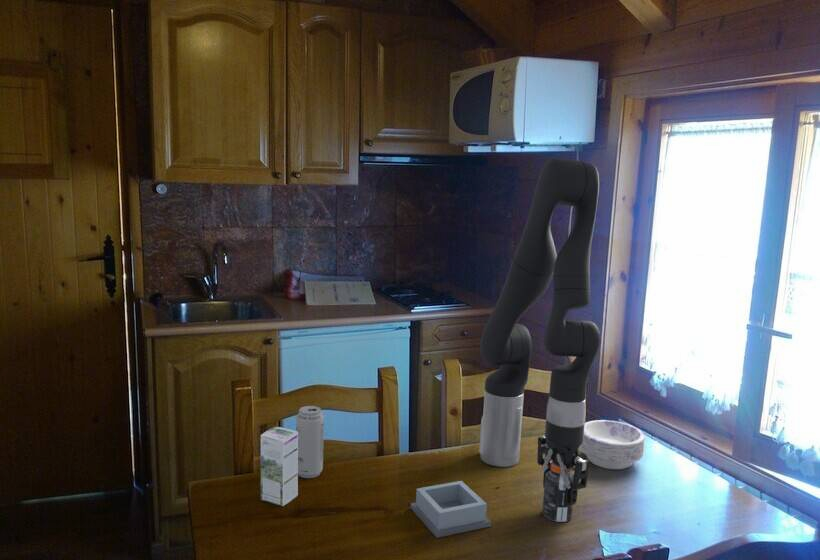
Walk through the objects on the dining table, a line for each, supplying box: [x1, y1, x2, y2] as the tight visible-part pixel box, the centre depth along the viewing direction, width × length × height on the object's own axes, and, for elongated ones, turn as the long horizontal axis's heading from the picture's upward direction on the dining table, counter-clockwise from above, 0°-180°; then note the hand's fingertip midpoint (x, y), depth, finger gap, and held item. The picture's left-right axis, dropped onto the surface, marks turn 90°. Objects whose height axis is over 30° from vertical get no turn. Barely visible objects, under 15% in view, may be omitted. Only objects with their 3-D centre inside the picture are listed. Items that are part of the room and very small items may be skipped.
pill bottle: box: [541, 462, 574, 523], centre depth 140 cm, size 6×6×11 cm
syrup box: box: [260, 426, 299, 507], centre depth 142 cm, size 6×6×14 cm
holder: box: [410, 480, 492, 538], centre depth 138 cm, size 12×12×4 cm
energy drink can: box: [295, 405, 325, 479], centre depth 154 cm, size 6×6×15 cm
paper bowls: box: [578, 419, 646, 470], centre depth 167 cm, size 15×15×8 cm
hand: (558, 495), depth 140 cm, fingers open, 6 cm apart
